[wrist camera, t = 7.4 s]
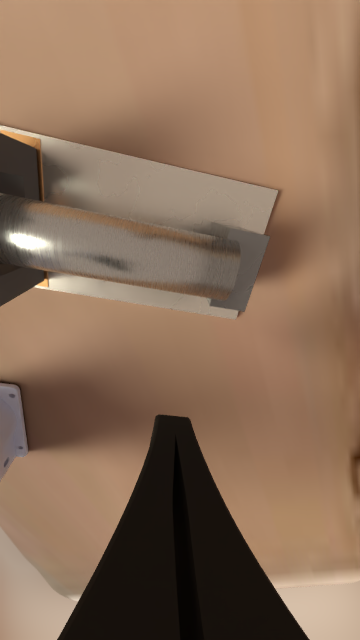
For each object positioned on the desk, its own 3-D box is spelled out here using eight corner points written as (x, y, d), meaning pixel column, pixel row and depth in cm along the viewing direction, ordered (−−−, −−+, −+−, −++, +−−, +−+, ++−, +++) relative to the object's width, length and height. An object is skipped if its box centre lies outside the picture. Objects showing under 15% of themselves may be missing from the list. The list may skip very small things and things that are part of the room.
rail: (275, 190, 15) (365, 177, 8) (234, 317, 18) (271, 380, 12) (-118, 98, 12) (-480, -38, 5) (-71, 268, 16) (-248, 312, 9)
